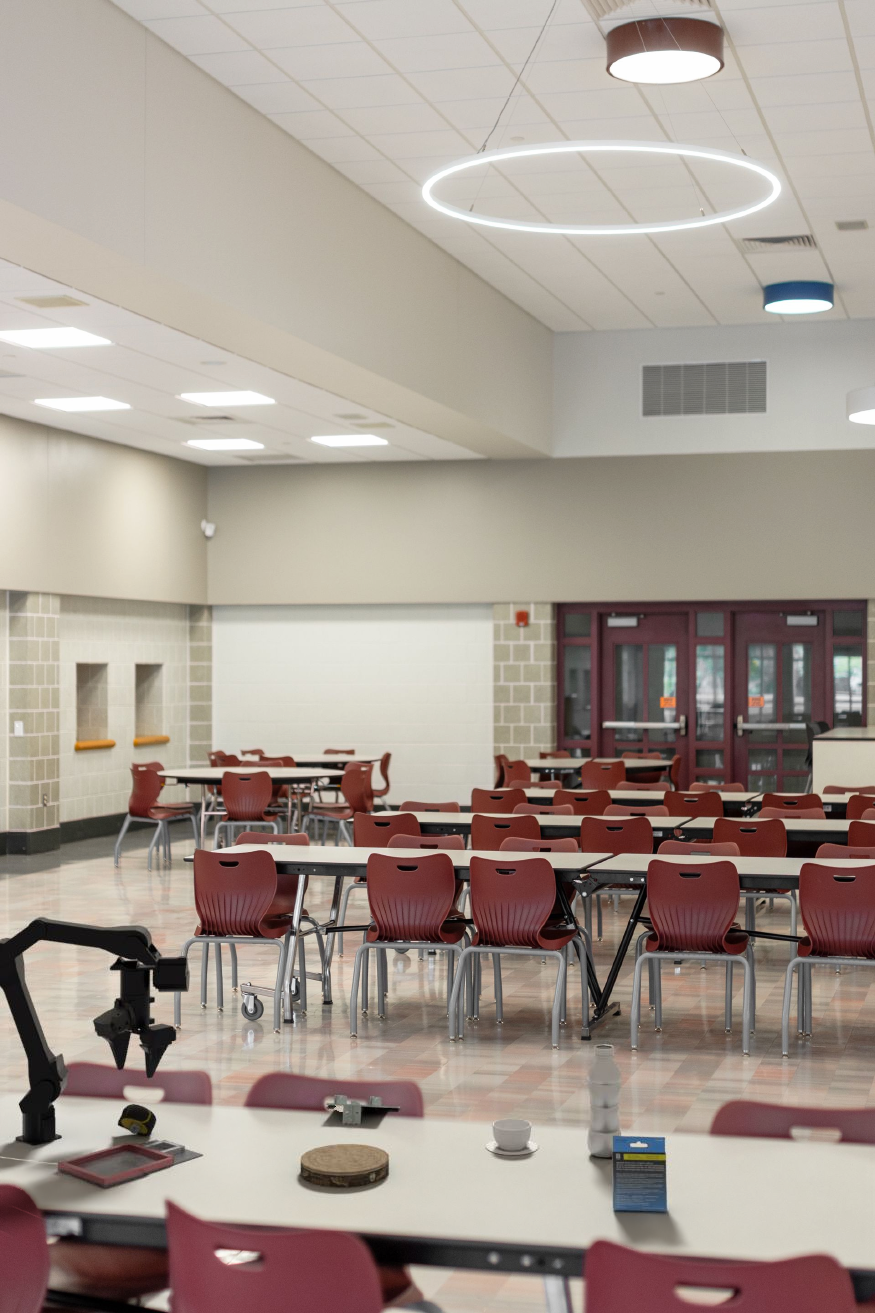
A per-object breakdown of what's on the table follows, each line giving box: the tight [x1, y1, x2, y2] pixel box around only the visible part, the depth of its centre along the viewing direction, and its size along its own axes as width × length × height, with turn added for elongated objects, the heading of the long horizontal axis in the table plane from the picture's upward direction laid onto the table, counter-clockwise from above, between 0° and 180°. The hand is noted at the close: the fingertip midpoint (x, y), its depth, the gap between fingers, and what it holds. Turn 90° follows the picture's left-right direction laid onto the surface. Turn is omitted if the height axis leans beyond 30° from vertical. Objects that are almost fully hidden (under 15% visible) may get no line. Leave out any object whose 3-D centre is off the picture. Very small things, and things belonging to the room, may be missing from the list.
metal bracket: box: [325, 1094, 401, 1125], centre depth 296 cm, size 14×6×15 cm
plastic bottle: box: [586, 1044, 622, 1158], centre depth 271 cm, size 6×7×20 cm
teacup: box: [485, 1118, 539, 1156], centre depth 275 cm, size 10×10×5 cm
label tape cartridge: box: [611, 1135, 668, 1213], centre depth 243 cm, size 9×4×12 cm, turn 83°
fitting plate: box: [57, 1139, 204, 1190], centre depth 267 cm, size 14×22×2 cm, turn 139°
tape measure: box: [117, 1103, 157, 1137], centre depth 282 cm, size 7×7×4 cm
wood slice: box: [300, 1143, 390, 1189], centre depth 262 cm, size 16×16×3 cm
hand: (134, 1073), depth 282 cm, fingers open, 9 cm apart
